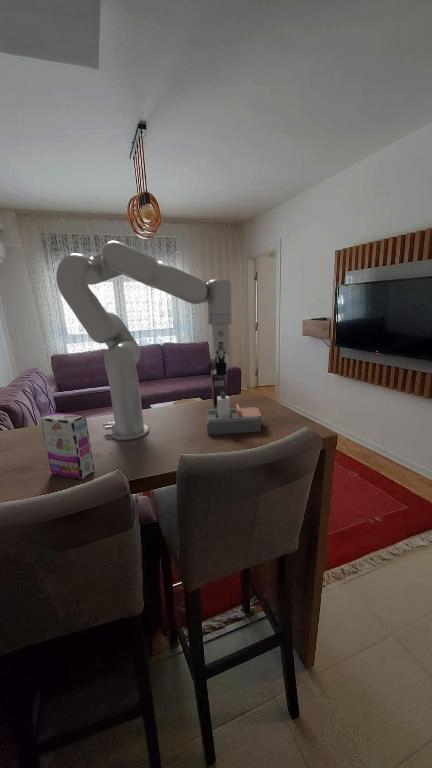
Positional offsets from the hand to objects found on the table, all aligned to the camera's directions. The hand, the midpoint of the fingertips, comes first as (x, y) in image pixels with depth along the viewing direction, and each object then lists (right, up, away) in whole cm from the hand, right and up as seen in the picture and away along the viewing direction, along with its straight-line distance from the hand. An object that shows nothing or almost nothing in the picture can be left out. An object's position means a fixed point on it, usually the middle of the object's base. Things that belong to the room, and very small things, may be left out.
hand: (220, 371), depth 107 cm
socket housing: (+4, -19, +5) cm, 21 cm away
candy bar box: (-41, -29, -20) cm, 54 cm away
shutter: (+10, -15, +4) cm, 19 cm away
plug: (+1, -20, +5) cm, 20 cm away
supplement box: (0, -15, +24) cm, 28 cm away
